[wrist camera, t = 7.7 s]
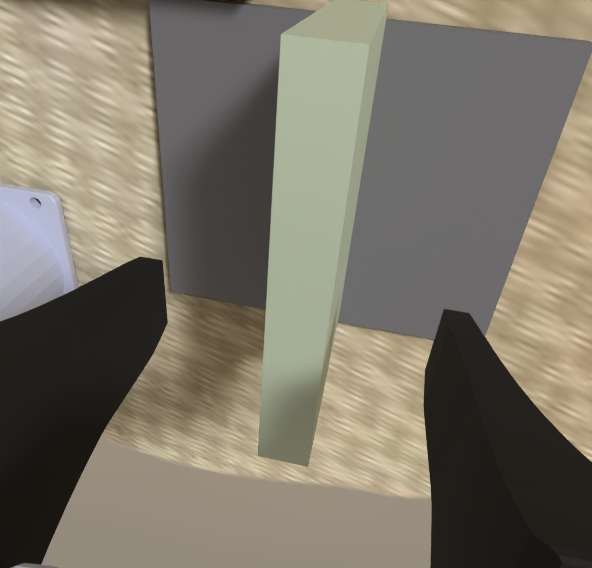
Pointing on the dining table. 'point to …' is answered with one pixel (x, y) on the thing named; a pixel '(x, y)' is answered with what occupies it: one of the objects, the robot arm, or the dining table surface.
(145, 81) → the dining table surface
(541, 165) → the mat
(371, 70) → the pale green rectangular block
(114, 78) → the dining table surface
